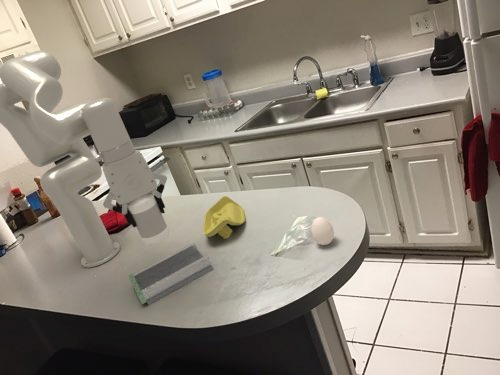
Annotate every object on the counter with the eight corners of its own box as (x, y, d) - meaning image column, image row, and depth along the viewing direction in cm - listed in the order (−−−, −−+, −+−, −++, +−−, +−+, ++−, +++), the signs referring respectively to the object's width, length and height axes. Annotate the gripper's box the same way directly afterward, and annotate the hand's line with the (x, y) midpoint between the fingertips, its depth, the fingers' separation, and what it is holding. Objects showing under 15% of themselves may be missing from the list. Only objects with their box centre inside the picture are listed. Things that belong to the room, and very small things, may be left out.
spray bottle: (139, 247, 106) (108, 182, 99) (151, 232, 112) (122, 170, 105) (163, 243, 104) (133, 177, 97) (174, 228, 110) (146, 164, 103)
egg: (332, 250, 102) (325, 224, 99) (312, 249, 104) (304, 224, 102) (339, 237, 106) (332, 211, 103) (319, 237, 108) (312, 212, 106)
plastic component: (204, 213, 137) (227, 192, 135) (221, 228, 139) (243, 208, 137) (201, 239, 118) (228, 215, 117) (221, 256, 120) (246, 233, 119)
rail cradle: (133, 286, 115) (128, 275, 113) (197, 252, 121) (193, 241, 119) (143, 307, 104) (138, 296, 103) (213, 269, 110) (208, 257, 109)
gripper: (82, 171, 93) (117, 240, 100) (156, 139, 98) (184, 206, 105) (79, 165, 99) (112, 230, 106) (149, 135, 105) (175, 199, 112)
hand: (148, 218), depth 106 cm, fingers closed on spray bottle, 6 cm apart
